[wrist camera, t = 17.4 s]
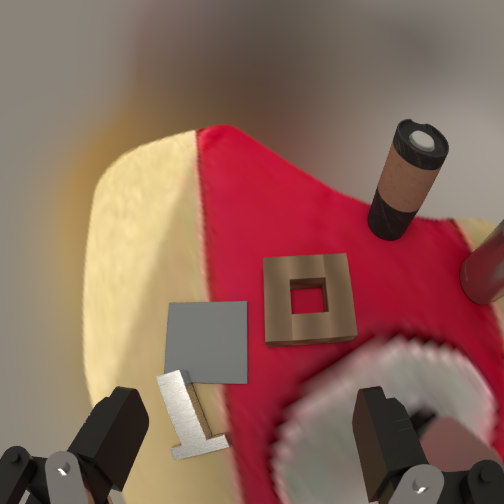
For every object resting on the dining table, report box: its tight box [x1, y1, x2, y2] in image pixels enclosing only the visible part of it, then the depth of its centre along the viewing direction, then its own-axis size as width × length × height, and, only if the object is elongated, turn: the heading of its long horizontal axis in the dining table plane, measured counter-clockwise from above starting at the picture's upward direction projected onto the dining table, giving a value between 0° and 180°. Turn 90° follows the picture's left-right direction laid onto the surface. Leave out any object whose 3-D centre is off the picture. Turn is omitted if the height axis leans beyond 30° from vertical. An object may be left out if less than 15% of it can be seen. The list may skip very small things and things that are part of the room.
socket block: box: [263, 253, 357, 347], centre depth 40 cm, size 12×12×4 cm
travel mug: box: [368, 119, 449, 240], centre depth 38 cm, size 8×8×20 cm
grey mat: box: [164, 301, 248, 384], centre depth 40 cm, size 12×12×1 cm
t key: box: [156, 370, 231, 460], centre depth 34 cm, size 8×4×12 cm
